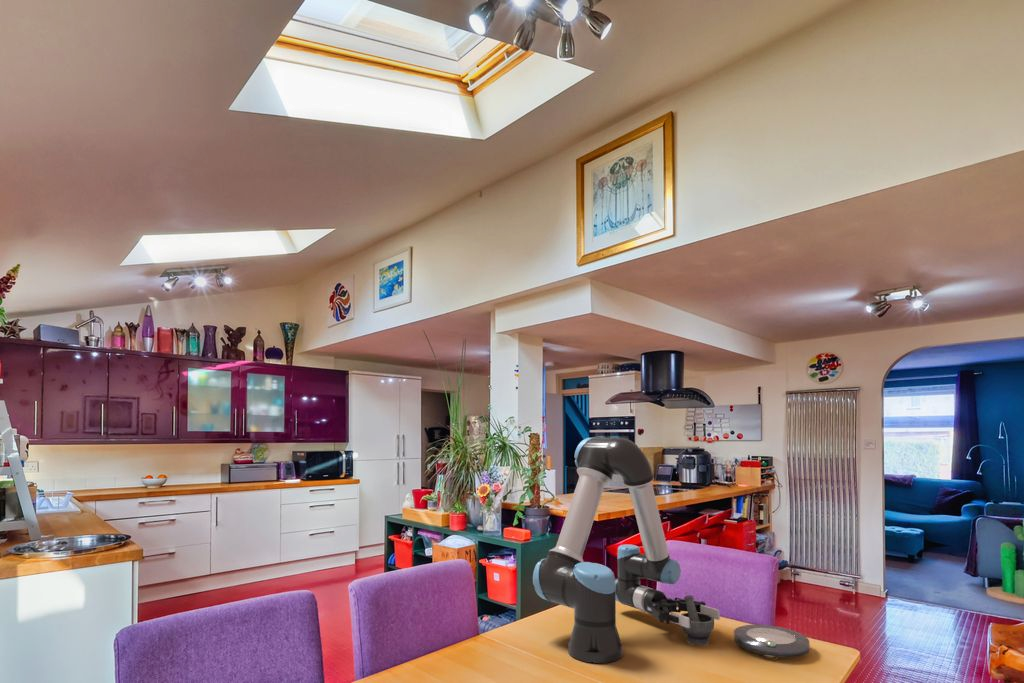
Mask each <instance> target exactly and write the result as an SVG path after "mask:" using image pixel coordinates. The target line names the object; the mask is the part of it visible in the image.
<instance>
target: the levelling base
mask: <svg viewBox="0 0 1024 683" xmlns="http://www.w3.org/2000/svg"><path fill="white" fill-rule="evenodd" d="M794 635H795V636H794ZM733 640H734V642H735V643H736V644H737V645H738V646H740V648H742V649H745V650H747V651H750V652H753V653H756V654H760V655H761V656H763V657H762V658H764V659H766V658H767V660H770V659H776V660H778V659H779V658H797V657H802V656H805V655H807V654H809V652H810V648H811V647H810V646H811V645H810V640H809V639H808V637H807V636H806V635H804V634H802V633H800V632H797V631H795V630H792V629H790V628H785V627H781V626H776V625H769V624H745V625H741V626H738V627H736V628H735V629H734V630H733ZM777 658H778V659H777Z"/></svg>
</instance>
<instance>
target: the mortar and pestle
mask: <svg viewBox="0 0 1024 683" xmlns="http://www.w3.org/2000/svg"><path fill="white" fill-rule="evenodd" d="M683 599H685V601H686V605H687V611H688V612H684V613H681V614H680V615H682V616H685V617H688V618H690V628H686V627H683V626H681V625H680V627H681V630H682V631H683V632H684V634H686V636H687V637H686V642H687V641H688V642H687V643H688V644H690V645H693V644H694V645H695V646H700V645H701V647H702V646H707V645H709V641H710V640H709V637H711V635H712V633H713V630H714V628H715V627H714V626H715V619H714V618H713V617H711V616H710V615H706V614H702V613H698V612H697V611H696V607H695V604H694V601H695V600H694V599H695V598H694V596H693V595H689V594H688V595H686V596H684V597H683Z"/></svg>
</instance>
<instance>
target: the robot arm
mask: <svg viewBox="0 0 1024 683" xmlns="http://www.w3.org/2000/svg"><path fill="white" fill-rule="evenodd" d="M574 459H575V460H574V463H575V466H576V467H577V468H576V473H577V475H578V479H577V483H576V486H575V489H574V492H573V493H572V497H571V501H570V504H569V507H568V510H567V513H566V515H565V518H564V521H563V524H562V527H561V531H560V534H559V536H558V539H557V542H556V545H555V547H553V548H552V549H549V550H548V554H547V556H546V558H542V559H540V560H539V561H537V563H536V564H535V567H534V570H533V572H532V573H533V574H532V584H533V586H534V591H535V592H536V594H537V596H539V597H540V598H541V599H543V600H546V601H547V602H548V603H549V602H550V603H551V604H553V603H554V604H557V605H560V606H563V607H567V608H570V609H573V611H574V613H573V614H574V618H573V619H574V622H573V627H572V631H571V635H570V639H569V641H568V646H567V648H568V649H567V650H568V654H569V655H570V656H571V657H572V658H574V659H576V660H578V661H581V662H584V663H585V662H586V663H591V662H593V663H592V664H607V663H612V662H616V661H619V660H620V659H621V658H622V657H623V653H624V652H623V644H622V642H621V639H620V638H621V637H620V634H619V632H618V629H617V628H618V627H617V622H616V620H617V618H616V611H617V610H616V607H617V606H616V602H617V603H620V604H621V605H624V606H629V607H630V608H634V609H637V610H640V611H642V612H643V613H644V614H645V613H648V614H650V615H652V616H653V617H654V618H655V619H657V620H658V622H660V623H665V625H670V623H673V624H676V625H678V626H680V627H681V626H683V627H686V628H690V618H688V617H685V616H682V615H681V614H679V613H681V612H685V613H688V611H687V605H686V601H685V599H684V598H679V597H674V599H672V598H667V596H666V594H665V593H664V592H663V591H661V590H658V589H655V588H651V587H648V586H645V585H641V579H645V580H650V581H655V582H658V583H661V584H666V585H667V584H668V585H675V584H676V583H677V582H678V581H679V580H680V578H681V572H682V571H681V565H680V563H679V562H678V561H677V560H674V559H673V558H671V556H670V553H669V549H668V545H667V540H666V537H665V532H664V529H663V525H662V519H661V516H660V510H659V507H658V502H657V499H656V494H655V491H654V485H653V481H654V479H655V478H654V472H653V469H652V466H651V463H650V462H649V460H648V457H647V456H646V454H645V453H644V452H643V450H642V449H641V448H640V447H639V446H638V445H637V444H636V443H635V442H633V441H632V440H630V439H628V438H623V437H601V436H594V437H586V438H584V439H583V440H581V441H580V442H579V443H578V445H577V447H576V449H575V451H574ZM614 475H617V476H618V475H619V476H620V477H622V480H623V484H624V486H626V487H628V492H629V495H630V500H631V502H632V506H633V511H634V516H635V518H636V523H637V526H638V531H639V535H640V540H641V542H642V543H641V544H642V547H643V551H644V553H641V550H640V546H637V545H634V544H621V545H619V546H618V547H617V558H616V559H617V560H616V561H617V579H616V577H615V573H614V571H612V569H611V568H609V567H608V566H606V565H603V564H600V563H597V562H590V561H584V559H583V555H584V553H585V552H584V551H585V550H586V545H587V544H588V543H587V542H588V540H589V537H590V533H591V530H592V526H593V523H594V520H595V517H596V514H597V511H598V507H599V505H600V502H601V498H602V494H603V492H604V489H605V486H607V485H609V484H611V482H612V479H613V476H614ZM693 601H694V604H695V607H696V611H697V613H702V614H706V615H710V616H711V617H713V618H714V620H718V621H719V620H721V614H720V609H717V608H714V607H711V606H708V605H706V602H705V601H702V600H701V601H697V600H693Z"/></svg>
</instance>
